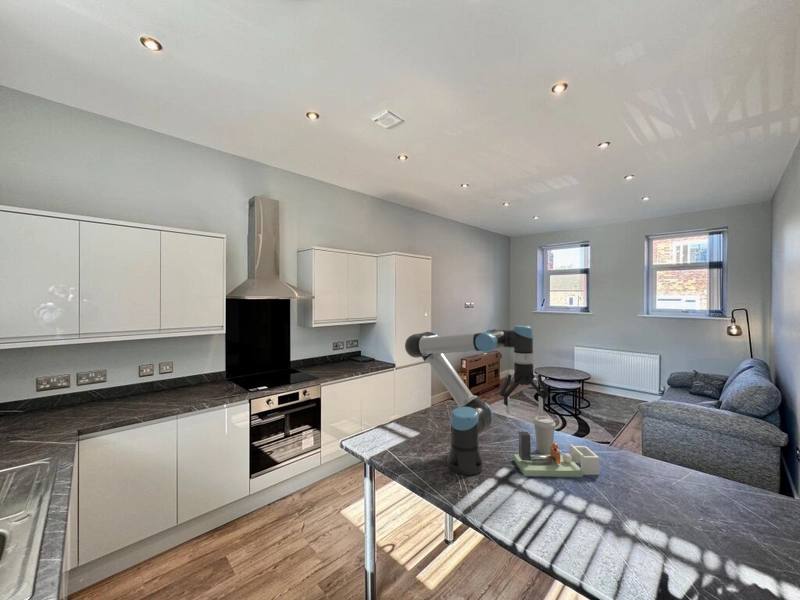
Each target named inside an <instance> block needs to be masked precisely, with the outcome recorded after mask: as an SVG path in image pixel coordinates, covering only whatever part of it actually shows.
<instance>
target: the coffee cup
mask: <svg viewBox="0 0 800 600" xmlns="http://www.w3.org/2000/svg"><path fill="white" fill-rule="evenodd" d="M532 423H533V424H534V425H533V426H534V433H535V435H534V436H535V443H536V444H535V445H536V450H537V451H536V452H537V453H539V454H540V455H550V446H552V444H553V443H554V436H555V428H556V425H557V424H556V422H555V421H554V419H553V418H551V417H548V416H540V415H539V416H536V417H534V419H533V421H532Z"/></svg>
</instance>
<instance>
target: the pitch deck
mask: <svg viewBox="0 0 800 600" xmlns="http://www.w3.org/2000/svg"><path fill="white" fill-rule="evenodd" d="M531 456H550V455H544V454H535V453H534V454H533V453H532V454H531ZM562 456H563V454H560V464H556V463H555V462H554V461H552V464H532V461H548V460H531V461H526V460H521V458H520V457H519V453H516V454H515V453H514V454H513V461H514V462H515V464H516V465H517V467H518V468H519V470H520V472H521V473H522V475H523V477H553V478H554V477H558V478H559V477H561V478H563V477H564V478H567V477H568V478H569V477H570V478H581V477H582V478H583V477H584V475H583V470H582V469H581V466H579V465H577V464H578V463H575V462H574V461H573V460H572V461H571V462H570V463H566V462H565V461H564V460H563V458H562Z"/></svg>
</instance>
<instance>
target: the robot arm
mask: <svg viewBox="0 0 800 600" xmlns="http://www.w3.org/2000/svg"><path fill="white" fill-rule="evenodd" d="M533 335H534V334H533V328H532V326H531V325H514V326H513V329H511V330H509V329H496V328H493V329H492V328H491V329H487V330H486V332H478V333H477V332H476V333H465V334H456V335H455V334H453V335H444V336H442V335H441V336H439V335H438V334H437V333H435V332H433V331H425V332H421V333H413V334H412V335H410V336H408V337H407V338H406V340H405V342H404V348H405V352H406V353H407V354H408V355H409V356H410V357H412V358H416V359H418V358H422V360H423V361H424V362H425V363H426V364H429V365H430V366H431V368H432V369H433V370H434V372H435V373H436V376H438V378H439V380H440V381H441V383H442V384H443V386H445V389H446V390H447V391H448V392H449V394H450V396H451V398H453V401H454V402H456V405H457V407H456V408H454V409H453V410H452V411H451V413H450V418H449V423H450V449H449V452H448V455H447V457H446V465H447V468H448V469H449V470H450V471H452V472H453V473H456V474H459V475H462V476H463V475H464V476H472V475H476V474H479V473H481V472H482V471H483V468H484V460H483V457H482V455H481V452H480V449H479V435H481V434H482V432H483V431H485V430H487V429H488V428H489V427H490V425H491V424H492V423H493V420H494V413H493V409H492V408H491V406H490V405H489V404H488V403H487V402H485V401H482V400H481V399H480V397H478V395H475V394H472V392H471V391H470V390H469V388H468V386H467V385H466V384H465V382H464V381H463V379H462V378H461V376H460V375H459V374H458V372H457V371H456V370H455V368H454V367H453V365H452V364H451V362H450V361H449V359H448V358H447V357H446V356H445V354H450V353H453V354H454V353H465V352H466V353H468V352H483V353H489V352H493V351H494V350H497V349H499V348H513V361H514V363H513V369H514V370H513V374H512V373H511V374H510V373H509V372H507V373H506V377H505V380H504V383H503V384H502V386H501V389H500V390H499V394H498V395H499V396H501V397H503V404H504V406H505V409H506V410H505V411H506V413H507V414H508V415H510V414H511V397H509V396H510V395H511V394H512V393H513V392H514V390H515V389H516V388H517V387H519V386H524V385H525V386H529V385H530V386H532V388H533V389H534V390H535V391H536V393H538V398H537V399H538V413H540V414H541V415H543V414H544V406H545V405H546V399H547V397H550V395H551V394H550V392H549V390H548V389H547V386H546V385H545V382H544V381H543V379H542V378H543V377H542V374H540V373H538V372H536V373H535V374H534V363H533V362H534V352H533V350H534V345H533V343H534V342H533V341H534V336H533ZM513 379H514V380H513ZM534 379H536V380H537V382H538V384H539V386H540V388H541V389H542V391H541V389H540V388H539V387H538V386H537V385H536V384H535V382H534ZM511 380H513V382H512V383H511ZM510 383H511V385H510Z"/></svg>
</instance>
